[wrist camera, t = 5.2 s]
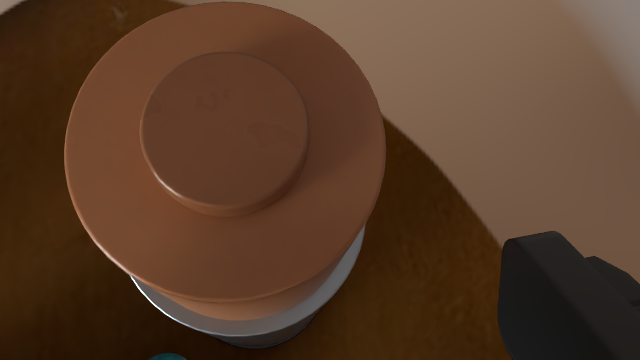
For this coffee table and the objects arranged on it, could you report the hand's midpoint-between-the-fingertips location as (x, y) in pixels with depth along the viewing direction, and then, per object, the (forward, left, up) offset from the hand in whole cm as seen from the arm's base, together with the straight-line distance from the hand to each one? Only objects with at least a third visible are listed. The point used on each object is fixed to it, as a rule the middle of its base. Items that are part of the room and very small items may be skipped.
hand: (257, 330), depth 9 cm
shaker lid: (-3, +3, -6) cm, 7 cm away
